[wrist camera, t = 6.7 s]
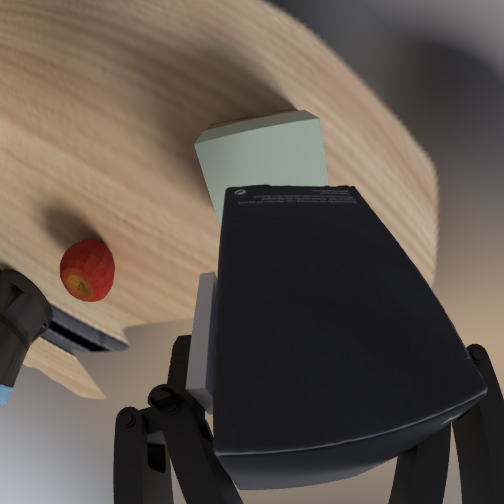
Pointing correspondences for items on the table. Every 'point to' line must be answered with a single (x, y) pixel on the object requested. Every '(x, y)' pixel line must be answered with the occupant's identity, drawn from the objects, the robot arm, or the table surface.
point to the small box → (325, 341)
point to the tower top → (262, 154)
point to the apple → (87, 270)
